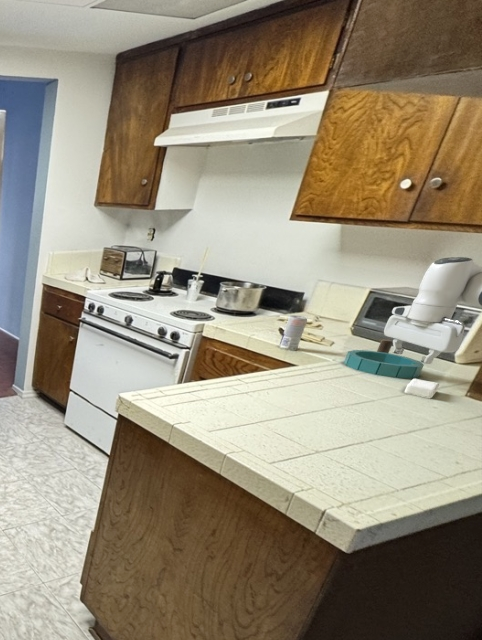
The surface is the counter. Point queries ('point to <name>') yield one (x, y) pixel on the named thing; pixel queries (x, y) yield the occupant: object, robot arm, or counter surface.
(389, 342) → the peg stand
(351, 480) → the counter surface
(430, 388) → the soap
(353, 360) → the ring
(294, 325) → the energy drink
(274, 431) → the counter surface
